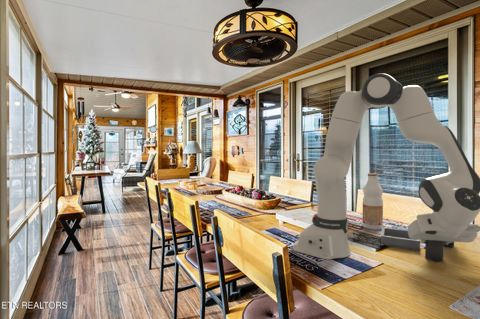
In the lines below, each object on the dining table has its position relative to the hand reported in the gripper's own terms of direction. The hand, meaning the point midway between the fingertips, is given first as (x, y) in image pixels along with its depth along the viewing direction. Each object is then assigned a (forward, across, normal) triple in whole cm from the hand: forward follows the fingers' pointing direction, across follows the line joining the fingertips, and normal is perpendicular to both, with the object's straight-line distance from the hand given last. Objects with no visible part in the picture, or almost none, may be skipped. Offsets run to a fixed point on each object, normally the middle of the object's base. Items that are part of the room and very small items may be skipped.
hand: (433, 242), depth 103 cm
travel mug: (+16, -11, -7) cm, 20 cm away
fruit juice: (+30, +13, -22) cm, 39 cm away
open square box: (+15, +7, -6) cm, 17 cm away
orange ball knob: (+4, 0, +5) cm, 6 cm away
